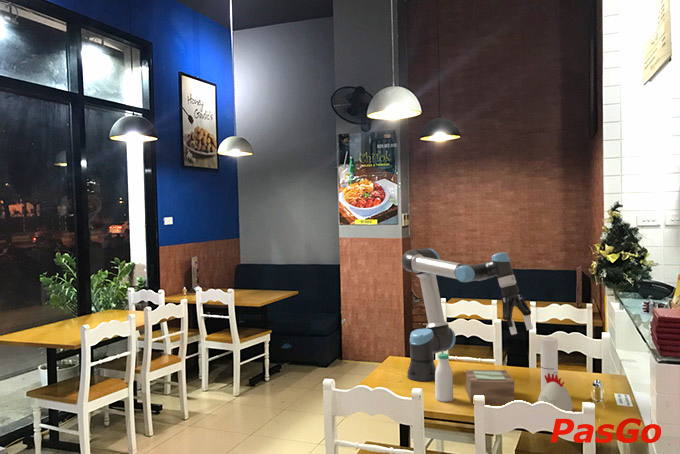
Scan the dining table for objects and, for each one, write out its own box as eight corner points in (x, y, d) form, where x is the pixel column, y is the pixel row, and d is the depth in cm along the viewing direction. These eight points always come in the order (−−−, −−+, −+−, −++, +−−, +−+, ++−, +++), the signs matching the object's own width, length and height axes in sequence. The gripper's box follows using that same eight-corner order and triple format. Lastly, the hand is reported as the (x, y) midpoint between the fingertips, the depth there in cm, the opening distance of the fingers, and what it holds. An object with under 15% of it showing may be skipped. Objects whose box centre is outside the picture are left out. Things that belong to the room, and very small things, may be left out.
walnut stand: (466, 390, 252) (465, 369, 252) (506, 390, 250) (505, 369, 250) (471, 404, 234) (471, 381, 234) (514, 404, 233) (514, 381, 232)
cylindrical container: (539, 392, 247) (538, 337, 247) (554, 392, 247) (554, 337, 247) (544, 397, 240) (543, 341, 240) (560, 397, 240) (559, 340, 239)
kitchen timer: (547, 402, 235) (547, 367, 235) (579, 410, 225) (578, 374, 224) (531, 410, 226) (530, 374, 225) (563, 419, 215) (562, 381, 215)
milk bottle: (453, 402, 237) (452, 356, 237) (435, 401, 239) (434, 356, 238) (453, 396, 245) (452, 352, 244) (435, 396, 246) (434, 351, 246)
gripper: (500, 286, 239) (514, 334, 234) (529, 281, 255) (543, 326, 251) (486, 290, 244) (500, 337, 239) (516, 285, 261) (529, 329, 256)
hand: (522, 332), depth 245 cm, fingers open, 13 cm apart
